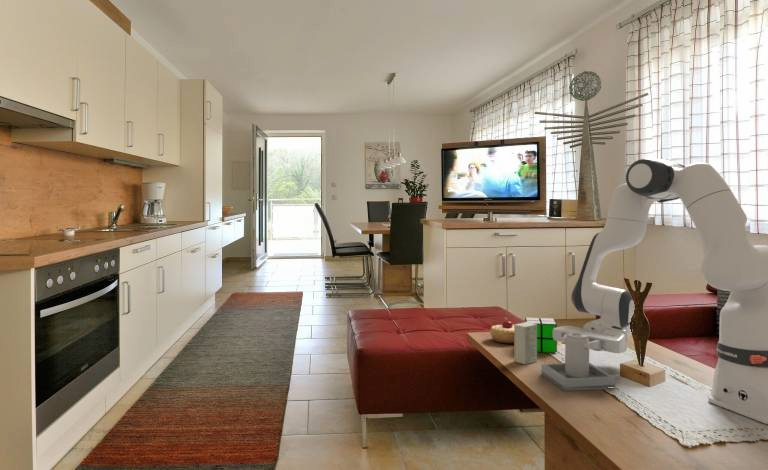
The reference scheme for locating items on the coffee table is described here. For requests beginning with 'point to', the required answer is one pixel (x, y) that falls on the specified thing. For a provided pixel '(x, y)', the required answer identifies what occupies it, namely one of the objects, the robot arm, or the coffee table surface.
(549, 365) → the tray
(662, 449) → the coffee table surface
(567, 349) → the beverage can
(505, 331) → the pastry
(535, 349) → the skincare box
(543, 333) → the puzzle cube
